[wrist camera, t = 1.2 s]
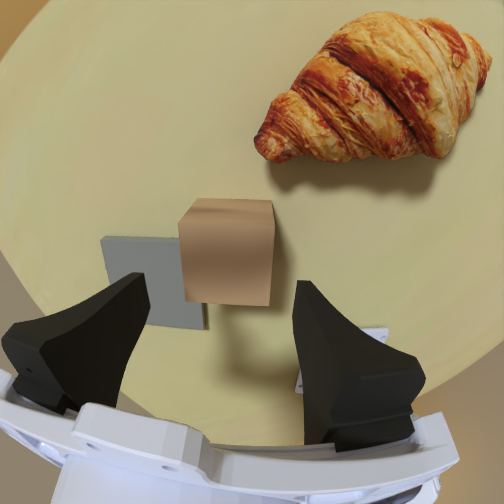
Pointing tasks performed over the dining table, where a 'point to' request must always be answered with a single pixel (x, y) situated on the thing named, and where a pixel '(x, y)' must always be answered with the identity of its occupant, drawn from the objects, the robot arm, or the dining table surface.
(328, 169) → the dining table surface
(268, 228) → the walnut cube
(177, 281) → the slate coaster
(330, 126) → the croissant
